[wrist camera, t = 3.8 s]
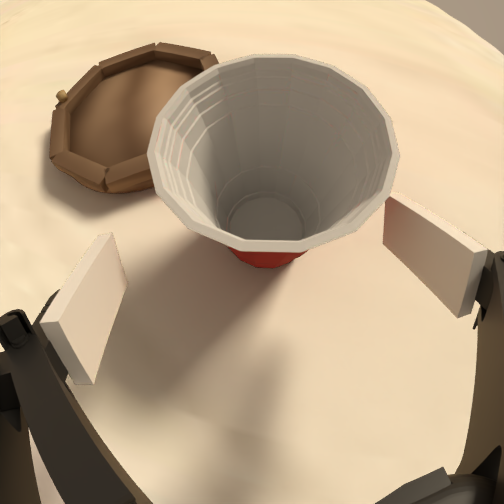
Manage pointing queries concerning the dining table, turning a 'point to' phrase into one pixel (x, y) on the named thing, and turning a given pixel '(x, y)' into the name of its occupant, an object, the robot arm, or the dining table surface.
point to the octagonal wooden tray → (119, 115)
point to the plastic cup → (273, 155)
